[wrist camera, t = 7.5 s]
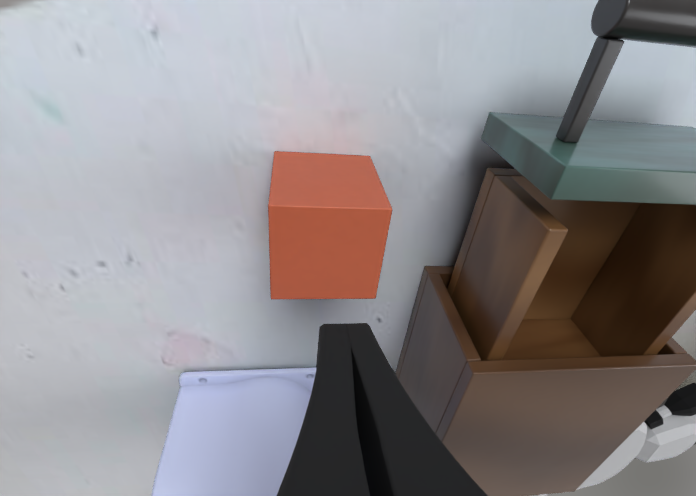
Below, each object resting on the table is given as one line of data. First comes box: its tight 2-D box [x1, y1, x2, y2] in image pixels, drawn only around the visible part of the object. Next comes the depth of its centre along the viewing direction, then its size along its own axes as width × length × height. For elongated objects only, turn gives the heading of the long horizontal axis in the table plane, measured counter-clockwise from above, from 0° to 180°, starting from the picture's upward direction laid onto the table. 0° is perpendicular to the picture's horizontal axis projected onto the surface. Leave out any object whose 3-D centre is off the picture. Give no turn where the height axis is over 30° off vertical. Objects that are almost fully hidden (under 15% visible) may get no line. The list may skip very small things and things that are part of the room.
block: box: [268, 151, 392, 299], centre depth 17 cm, size 4×4×5 cm
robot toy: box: [539, 383, 696, 496], centre depth 33 cm, size 12×4×15 cm
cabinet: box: [395, 266, 696, 496], centre depth 24 cm, size 13×11×7 cm
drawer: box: [447, 0, 696, 361], centre depth 17 cm, size 17×10×6 cm, turn 175°
